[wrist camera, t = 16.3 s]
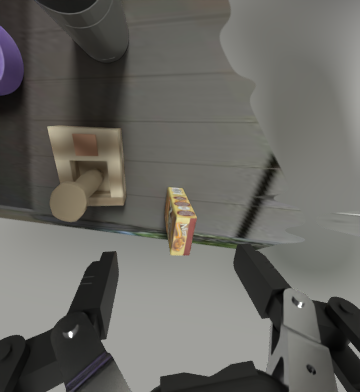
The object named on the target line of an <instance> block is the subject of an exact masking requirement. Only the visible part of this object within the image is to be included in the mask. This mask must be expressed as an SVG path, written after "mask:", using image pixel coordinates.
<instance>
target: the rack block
mask: <svg viewBox="0 0 360 392" xmlns="http://www.w3.org/2000/svg"><path fill="white" fill-rule="evenodd" d="M47 128H48V132H49V137H50V141H51V145H52V150H53V154H54V158H55V163H56V167H57V171H58V176H59V180H60V184H61V183H63V182H66V181H72V182H75V181H76V180H77V179H78V178H79V177H80V176H81V175H82V174H84V173H85V172H87V171H89V170H92V169H93V168H97V169H98V170H102V171H103V172H102V173H103V176H104V179H103V181H102V183H101V185H100V186H99V188H98V189H97V190H96V191H95V192H94V193H93V194H92V195H91V196H90V197H89V203H88V206H117V205H124V203H125V199H126V184H125V171H124V158H123V145H122V132H121V128H101V127H79V126H50V127H47Z"/></svg>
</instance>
